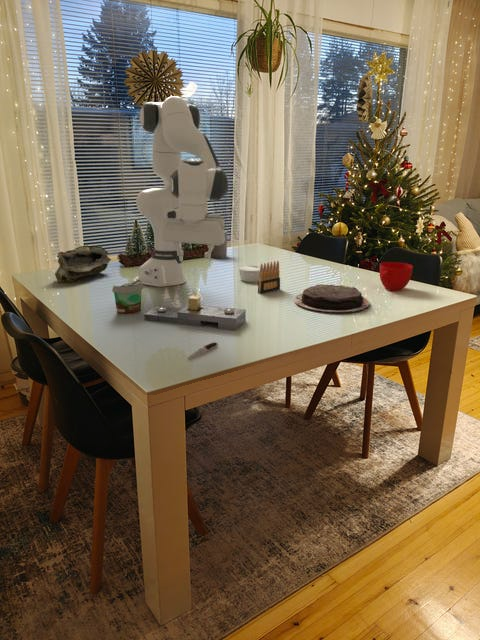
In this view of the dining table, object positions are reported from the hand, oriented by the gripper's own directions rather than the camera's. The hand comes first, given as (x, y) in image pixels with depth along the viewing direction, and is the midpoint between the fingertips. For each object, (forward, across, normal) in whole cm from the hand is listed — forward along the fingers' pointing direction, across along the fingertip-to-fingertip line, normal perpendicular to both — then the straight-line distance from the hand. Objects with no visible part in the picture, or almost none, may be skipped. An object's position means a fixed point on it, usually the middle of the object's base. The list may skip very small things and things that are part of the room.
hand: (193, 257), depth 159 cm
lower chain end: (+21, +5, +2) cm, 22 cm away
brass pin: (+21, -1, +1) cm, 21 cm away
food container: (+21, +23, 0) cm, 32 cm away
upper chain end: (+21, -7, +1) cm, 22 cm away
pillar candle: (+22, +29, -100) cm, 107 cm away
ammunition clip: (+21, -14, -43) cm, 50 cm away
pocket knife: (+21, -14, +26) cm, 37 cm away
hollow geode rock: (+22, +68, -37) cm, 81 cm away
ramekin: (+22, -2, -59) cm, 63 cm away
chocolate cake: (+22, -40, -35) cm, 58 cm away
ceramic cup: (+21, -61, -62) cm, 90 cm away
